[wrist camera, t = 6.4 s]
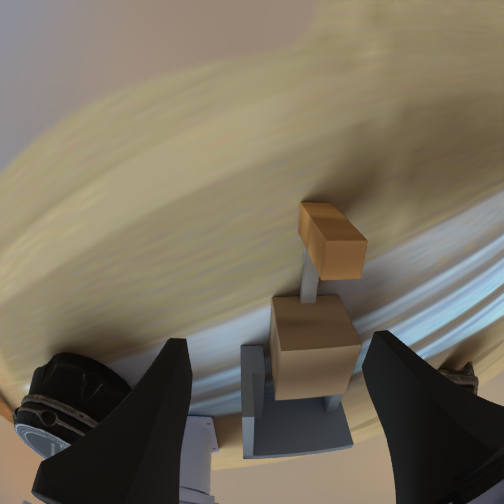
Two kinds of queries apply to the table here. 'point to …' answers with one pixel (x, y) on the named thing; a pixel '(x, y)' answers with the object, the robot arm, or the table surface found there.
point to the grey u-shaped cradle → (286, 417)
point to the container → (66, 402)
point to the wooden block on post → (317, 311)
